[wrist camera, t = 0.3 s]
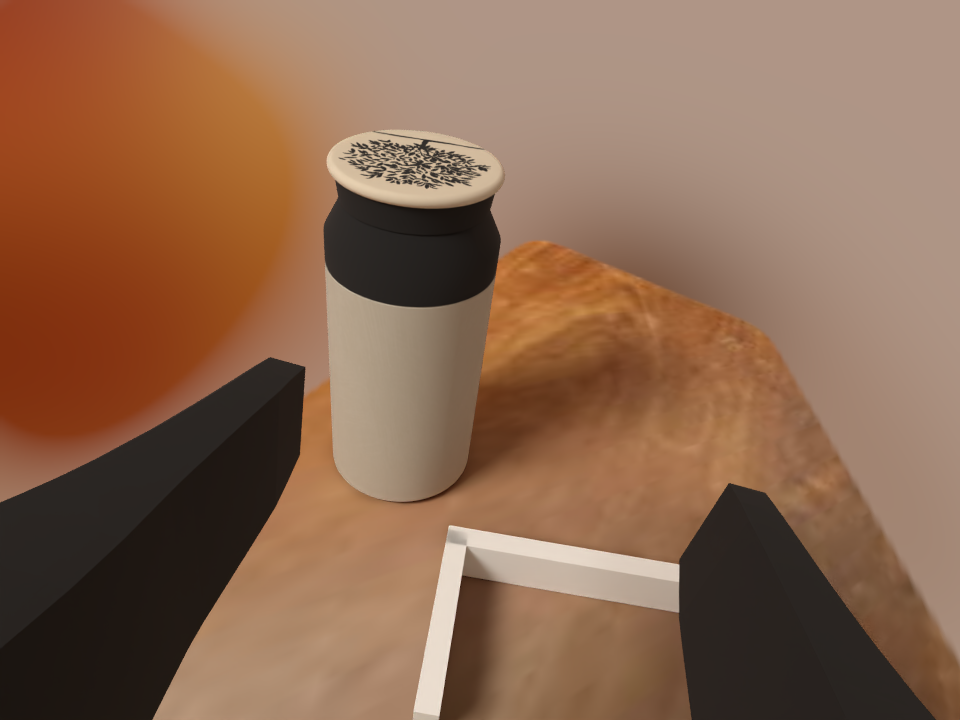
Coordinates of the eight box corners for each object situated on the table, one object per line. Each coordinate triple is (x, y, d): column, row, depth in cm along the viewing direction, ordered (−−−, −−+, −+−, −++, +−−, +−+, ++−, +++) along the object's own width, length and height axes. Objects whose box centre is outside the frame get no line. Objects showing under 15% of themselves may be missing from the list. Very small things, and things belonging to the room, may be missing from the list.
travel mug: (444, 523, 34) (483, 218, 23) (308, 481, 35) (283, 171, 24) (482, 426, 40) (528, 149, 29) (366, 394, 41) (367, 114, 30)
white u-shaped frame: (817, 810, 25) (847, 788, 24) (410, 738, 26) (413, 711, 24) (765, 610, 32) (785, 582, 31) (444, 555, 32) (449, 525, 31)
